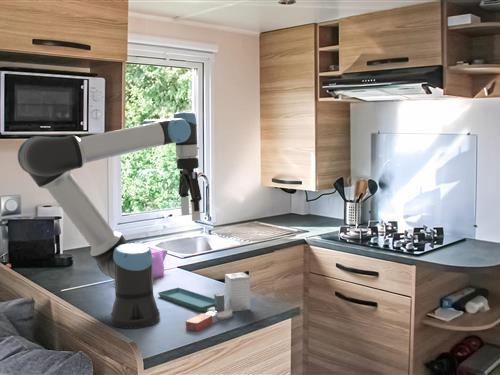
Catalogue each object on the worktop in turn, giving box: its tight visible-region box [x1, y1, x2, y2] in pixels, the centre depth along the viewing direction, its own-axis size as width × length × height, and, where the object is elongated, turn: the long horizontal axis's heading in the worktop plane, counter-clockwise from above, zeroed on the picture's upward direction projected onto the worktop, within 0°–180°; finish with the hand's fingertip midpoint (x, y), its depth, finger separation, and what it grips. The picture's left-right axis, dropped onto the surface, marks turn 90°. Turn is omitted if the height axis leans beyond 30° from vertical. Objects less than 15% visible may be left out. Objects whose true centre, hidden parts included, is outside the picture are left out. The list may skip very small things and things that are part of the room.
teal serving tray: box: [157, 287, 215, 313], centre depth 203 cm, size 26×9×2 cm, turn 42°
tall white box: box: [224, 271, 251, 313], centre depth 194 cm, size 6×6×11 cm
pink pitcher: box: [149, 247, 168, 280], centre depth 238 cm, size 17×17×12 cm
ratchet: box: [185, 292, 233, 333], centre depth 182 cm, size 19×8×7 cm, turn 149°
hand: (190, 217), depth 206 cm, fingers open, 13 cm apart
